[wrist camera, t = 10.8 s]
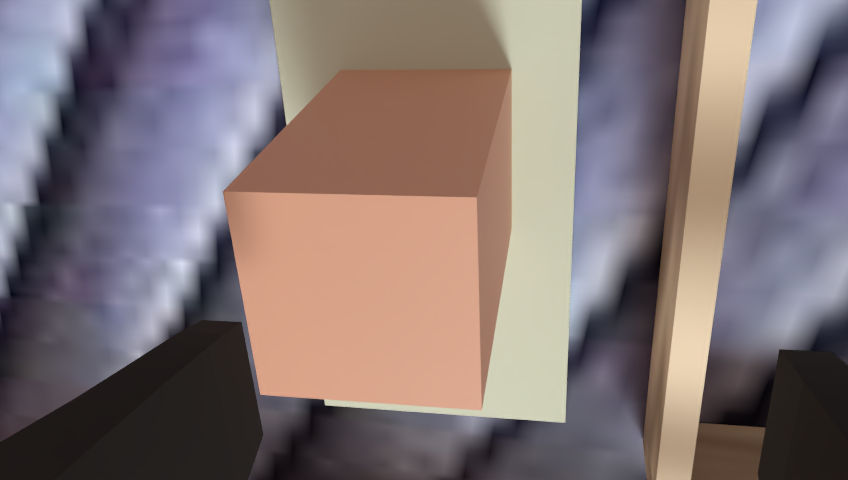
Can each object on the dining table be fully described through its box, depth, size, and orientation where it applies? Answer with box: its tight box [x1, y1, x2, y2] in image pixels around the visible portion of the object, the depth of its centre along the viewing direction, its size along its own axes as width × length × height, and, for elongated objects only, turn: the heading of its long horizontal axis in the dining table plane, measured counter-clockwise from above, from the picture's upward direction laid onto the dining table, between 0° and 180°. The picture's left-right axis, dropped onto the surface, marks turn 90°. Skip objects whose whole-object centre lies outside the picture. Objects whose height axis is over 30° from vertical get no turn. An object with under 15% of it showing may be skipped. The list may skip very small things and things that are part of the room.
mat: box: [269, 0, 582, 423], centre depth 19 cm, size 16×7×1 cm, turn 3°
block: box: [223, 69, 512, 410], centre depth 16 cm, size 4×4×7 cm
